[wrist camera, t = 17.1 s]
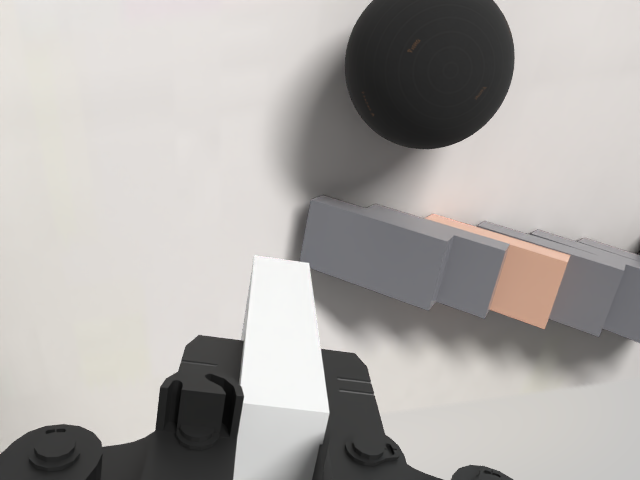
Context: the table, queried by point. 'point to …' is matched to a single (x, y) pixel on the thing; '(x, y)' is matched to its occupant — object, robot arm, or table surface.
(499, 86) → the black ball
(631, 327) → the domino
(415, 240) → the domino
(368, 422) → the robot arm
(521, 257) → the domino
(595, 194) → the table surface
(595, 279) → the domino
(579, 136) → the table surface
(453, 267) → the domino
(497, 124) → the table surface
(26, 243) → the table surface
